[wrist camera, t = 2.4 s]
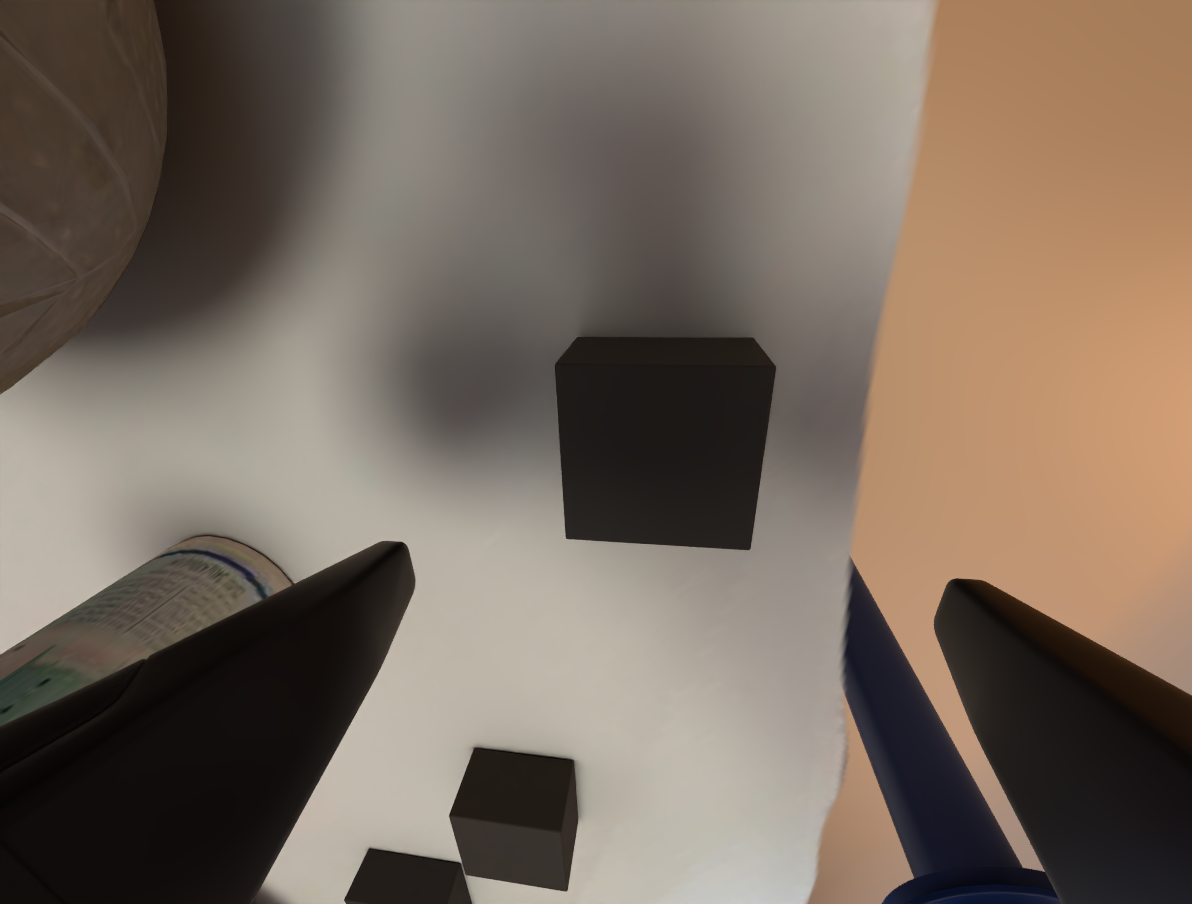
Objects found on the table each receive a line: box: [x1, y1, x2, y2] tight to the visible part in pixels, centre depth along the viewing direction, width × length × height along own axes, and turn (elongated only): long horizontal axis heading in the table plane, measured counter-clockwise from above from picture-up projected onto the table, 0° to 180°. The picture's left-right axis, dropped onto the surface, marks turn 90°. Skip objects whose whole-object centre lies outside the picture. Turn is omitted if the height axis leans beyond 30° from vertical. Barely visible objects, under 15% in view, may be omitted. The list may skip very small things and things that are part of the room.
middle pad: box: [555, 337, 776, 550], centre depth 13 cm, size 5×5×3 cm
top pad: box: [449, 749, 578, 891], centre depth 22 cm, size 5×5×3 cm
